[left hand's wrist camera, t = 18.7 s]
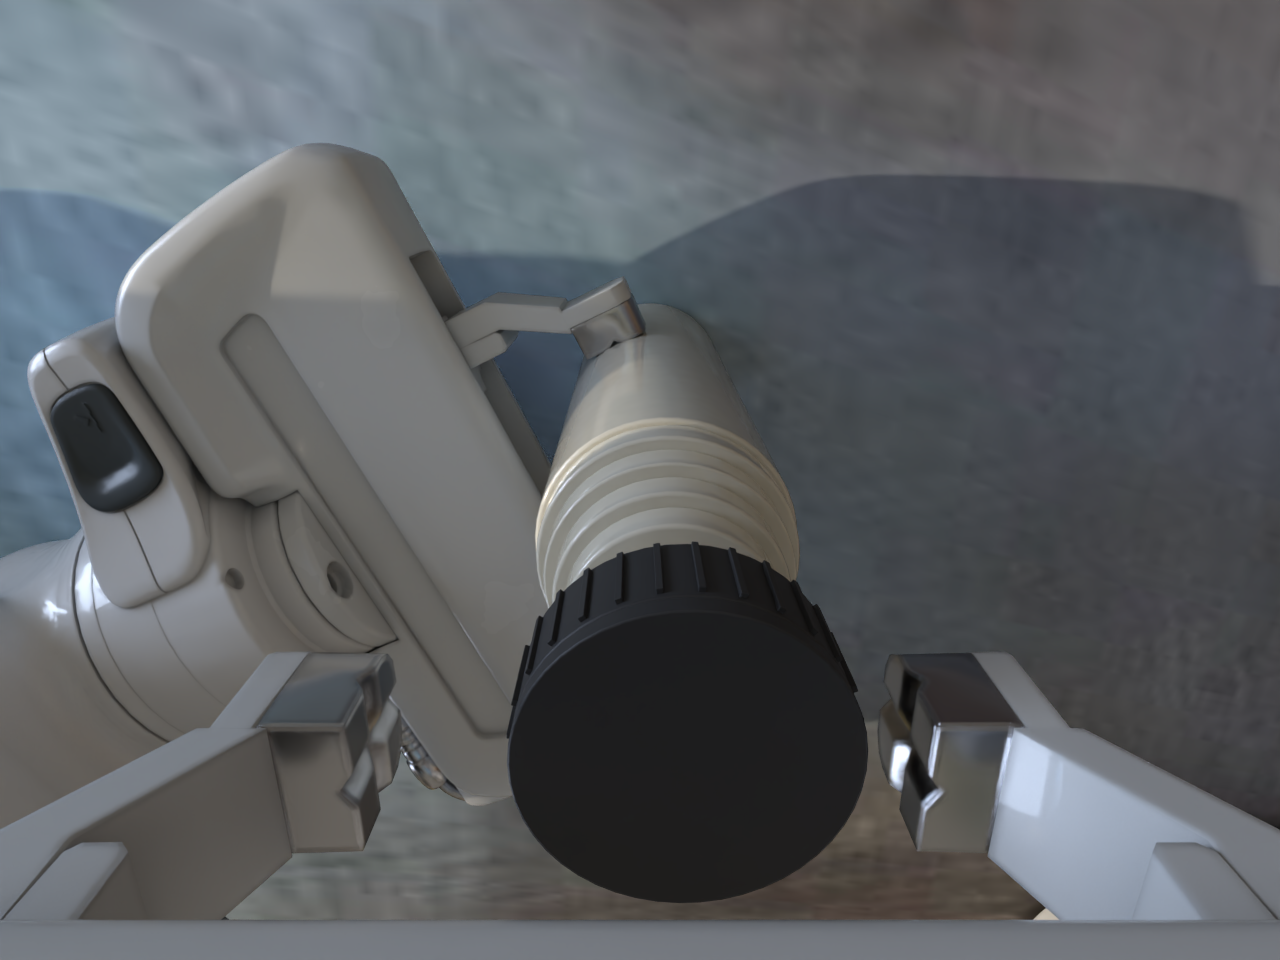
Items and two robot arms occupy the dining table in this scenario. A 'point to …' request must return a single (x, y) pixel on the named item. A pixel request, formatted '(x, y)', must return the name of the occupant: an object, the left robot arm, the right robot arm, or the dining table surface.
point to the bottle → (660, 460)
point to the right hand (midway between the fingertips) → (681, 399)
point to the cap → (684, 726)
